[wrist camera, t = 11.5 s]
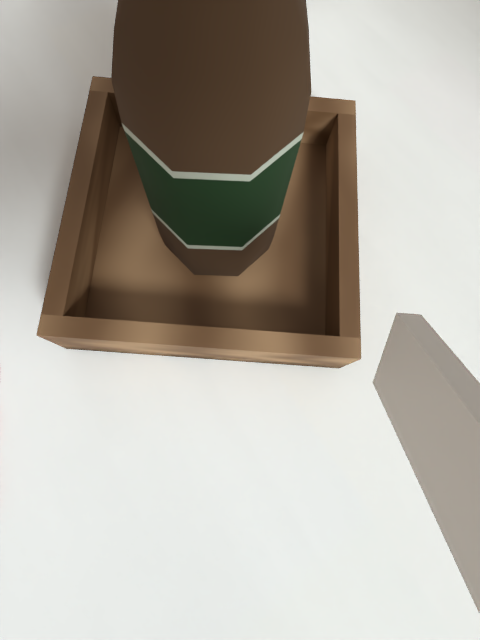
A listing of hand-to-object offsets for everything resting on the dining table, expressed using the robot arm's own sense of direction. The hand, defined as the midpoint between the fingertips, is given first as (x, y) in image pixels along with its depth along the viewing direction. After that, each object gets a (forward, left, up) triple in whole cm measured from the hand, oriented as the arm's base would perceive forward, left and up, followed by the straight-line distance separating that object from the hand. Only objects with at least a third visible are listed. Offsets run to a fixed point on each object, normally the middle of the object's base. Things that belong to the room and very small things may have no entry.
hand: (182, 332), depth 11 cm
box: (0, -10, -13) cm, 16 cm away
